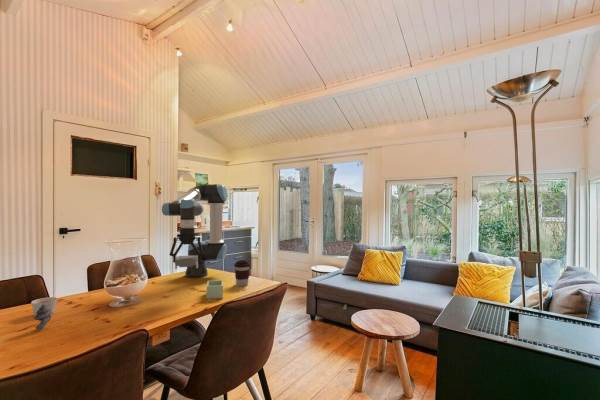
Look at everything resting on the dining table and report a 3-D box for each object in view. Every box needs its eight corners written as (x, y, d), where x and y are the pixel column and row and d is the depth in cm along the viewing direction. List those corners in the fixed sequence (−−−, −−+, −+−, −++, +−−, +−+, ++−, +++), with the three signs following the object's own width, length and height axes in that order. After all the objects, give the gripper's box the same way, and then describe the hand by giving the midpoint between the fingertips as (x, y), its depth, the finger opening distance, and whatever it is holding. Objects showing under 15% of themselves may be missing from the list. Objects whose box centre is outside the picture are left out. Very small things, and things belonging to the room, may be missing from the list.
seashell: (33, 329, 119) (34, 304, 119) (51, 325, 123) (51, 301, 123) (34, 333, 115) (35, 307, 115) (52, 329, 119) (52, 304, 119)
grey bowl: (60, 312, 137) (60, 299, 137) (35, 319, 129) (36, 304, 129) (52, 309, 141) (52, 296, 141) (27, 315, 133) (28, 301, 134)
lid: (178, 263, 166) (178, 255, 166) (197, 262, 168) (197, 254, 168) (175, 267, 153) (175, 259, 153) (195, 267, 156) (195, 258, 156)
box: (207, 293, 168) (207, 280, 168) (222, 292, 170) (222, 279, 171) (206, 299, 157) (206, 286, 157) (222, 298, 159) (222, 285, 159)
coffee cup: (248, 287, 181) (248, 262, 181) (232, 286, 181) (232, 262, 181) (251, 282, 191) (251, 259, 191) (236, 282, 191) (236, 259, 191)
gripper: (163, 228, 155) (162, 270, 154) (208, 227, 160) (208, 268, 160) (166, 227, 162) (165, 267, 162) (209, 226, 168) (208, 265, 167)
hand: (186, 268), depth 161 cm, fingers closed on lid, 10 cm apart
